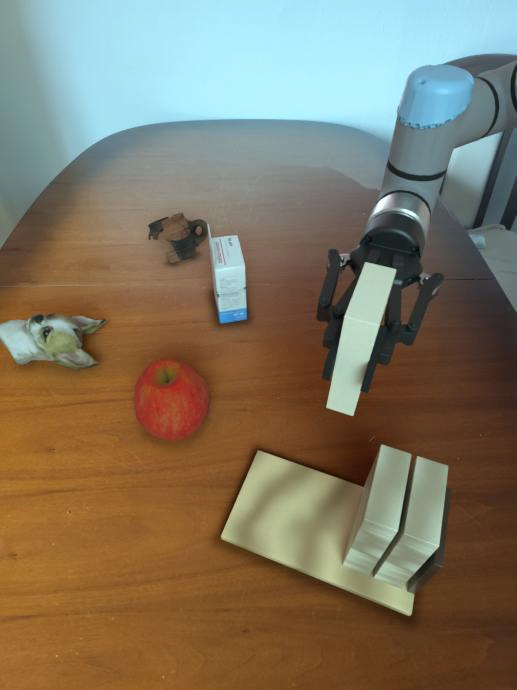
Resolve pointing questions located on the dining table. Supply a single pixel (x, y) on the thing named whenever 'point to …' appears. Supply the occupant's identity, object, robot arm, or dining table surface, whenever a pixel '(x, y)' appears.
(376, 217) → the robot arm
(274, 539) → the book rack
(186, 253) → the pottery mug
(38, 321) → the ceramic sculpture
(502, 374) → the dining table surface
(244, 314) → the ink box
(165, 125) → the dining table surface
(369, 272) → the cream book
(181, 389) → the apple
